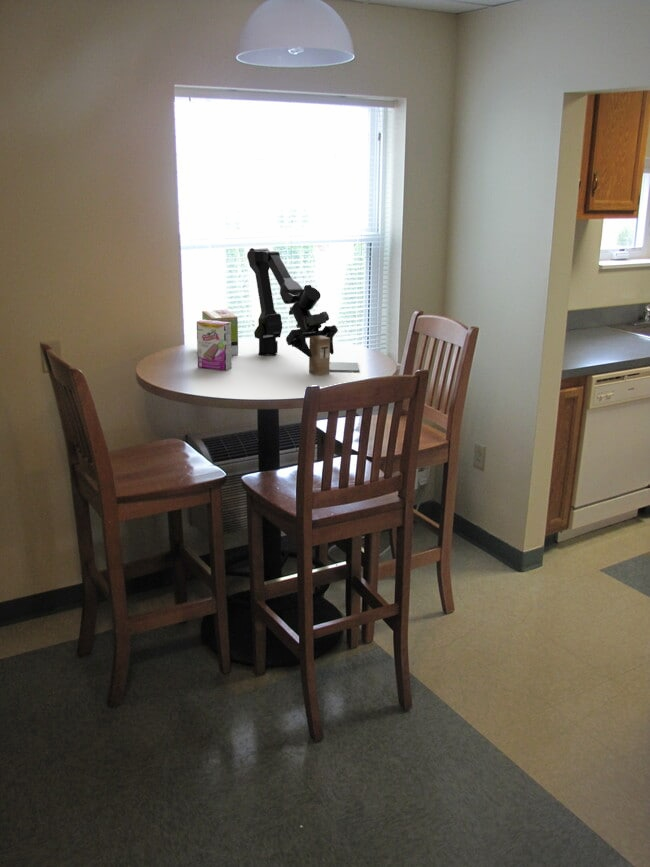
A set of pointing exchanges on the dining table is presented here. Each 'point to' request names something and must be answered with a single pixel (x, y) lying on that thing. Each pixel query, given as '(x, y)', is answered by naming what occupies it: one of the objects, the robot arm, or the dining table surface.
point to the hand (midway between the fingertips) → (321, 355)
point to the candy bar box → (214, 344)
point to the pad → (343, 367)
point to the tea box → (225, 317)
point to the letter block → (319, 355)
